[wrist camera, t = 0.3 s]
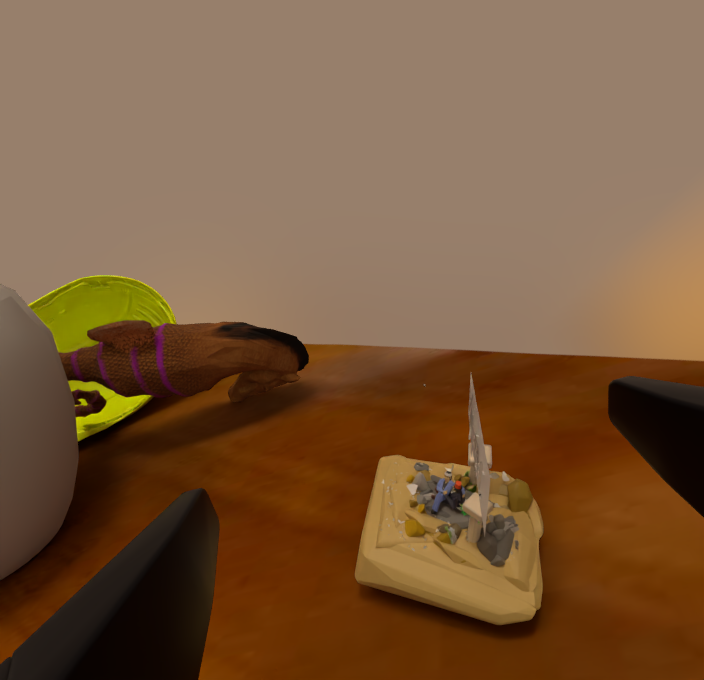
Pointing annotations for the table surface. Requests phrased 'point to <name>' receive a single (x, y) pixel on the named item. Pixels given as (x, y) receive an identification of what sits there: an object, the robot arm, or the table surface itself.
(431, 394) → the table surface
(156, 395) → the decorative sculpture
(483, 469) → the miniature beach sign
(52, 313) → the hard hat
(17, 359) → the vase
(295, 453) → the table surface
